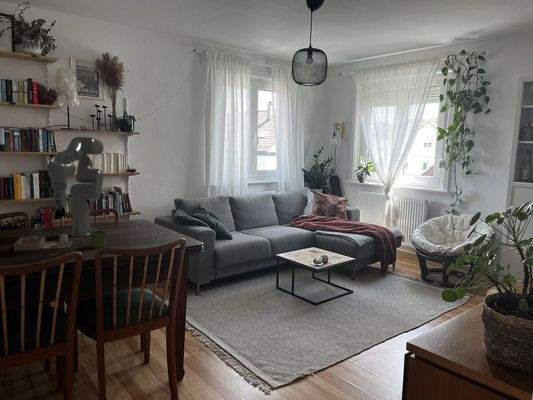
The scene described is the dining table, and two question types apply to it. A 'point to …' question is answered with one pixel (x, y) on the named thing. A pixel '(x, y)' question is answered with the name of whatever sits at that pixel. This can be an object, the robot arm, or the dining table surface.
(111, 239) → the dining table surface
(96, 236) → the plant pot
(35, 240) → the pebble dark
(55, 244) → the birch tray
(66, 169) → the robot arm
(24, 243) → the brown shallow rectangular tray
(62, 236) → the pebble grey
